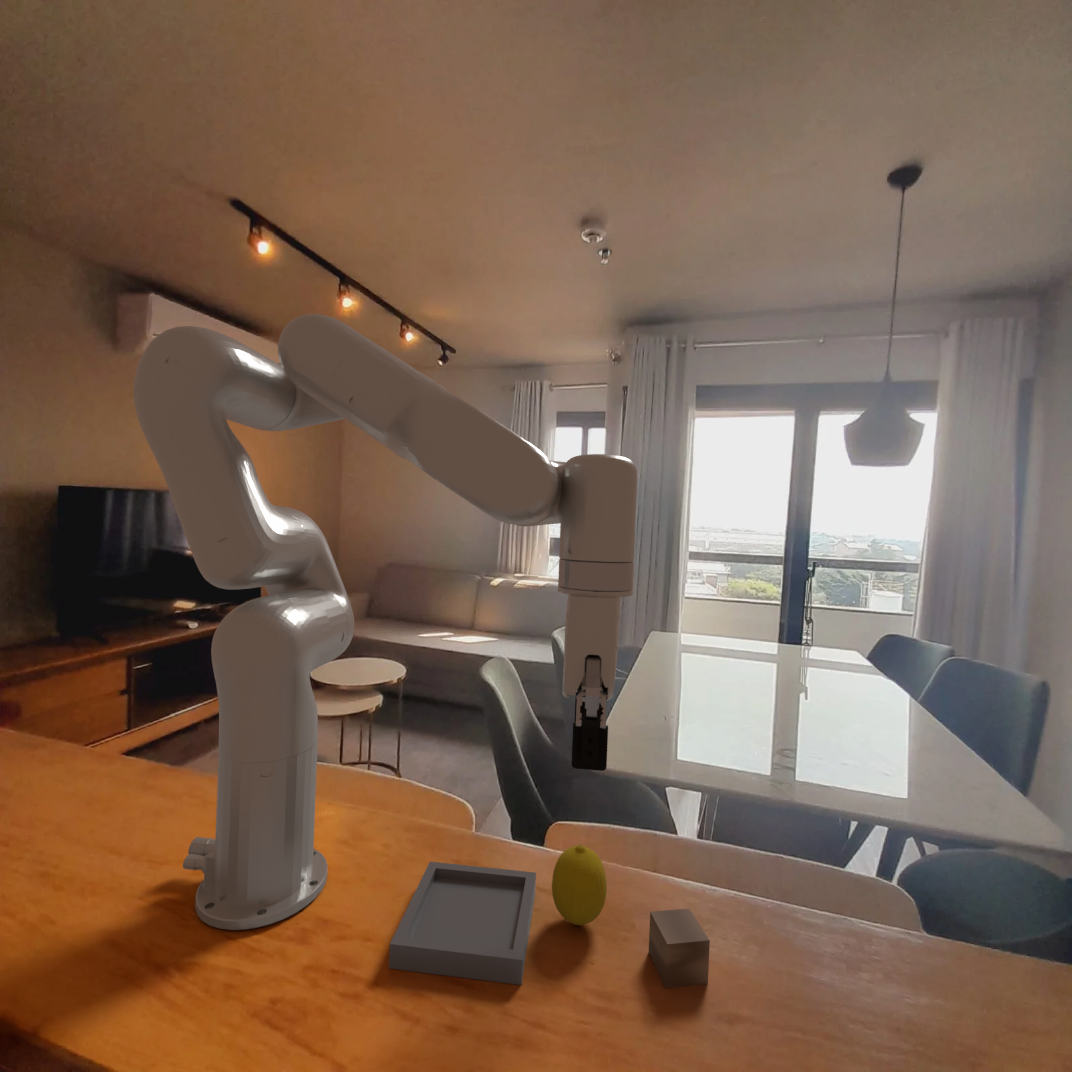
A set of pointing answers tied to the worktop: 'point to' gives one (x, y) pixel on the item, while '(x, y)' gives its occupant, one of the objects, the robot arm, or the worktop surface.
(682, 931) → the metal cube
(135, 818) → the worktop surface
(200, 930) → the worktop surface
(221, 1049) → the worktop surface
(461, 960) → the dish
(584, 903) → the lemon
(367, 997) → the worktop surface
